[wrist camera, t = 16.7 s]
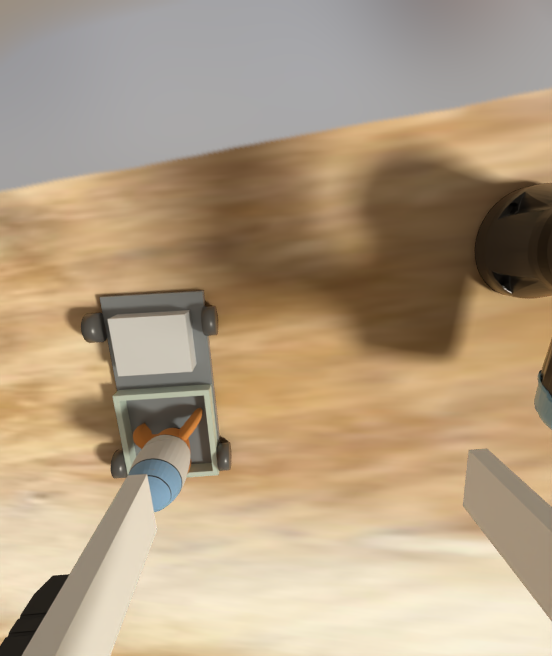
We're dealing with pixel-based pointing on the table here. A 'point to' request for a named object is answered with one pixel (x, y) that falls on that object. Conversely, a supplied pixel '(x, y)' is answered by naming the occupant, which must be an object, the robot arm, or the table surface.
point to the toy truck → (161, 372)
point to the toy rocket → (164, 459)
